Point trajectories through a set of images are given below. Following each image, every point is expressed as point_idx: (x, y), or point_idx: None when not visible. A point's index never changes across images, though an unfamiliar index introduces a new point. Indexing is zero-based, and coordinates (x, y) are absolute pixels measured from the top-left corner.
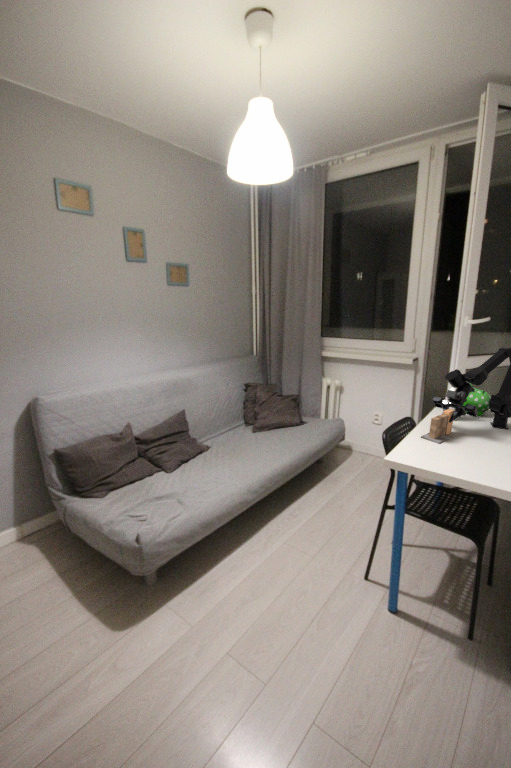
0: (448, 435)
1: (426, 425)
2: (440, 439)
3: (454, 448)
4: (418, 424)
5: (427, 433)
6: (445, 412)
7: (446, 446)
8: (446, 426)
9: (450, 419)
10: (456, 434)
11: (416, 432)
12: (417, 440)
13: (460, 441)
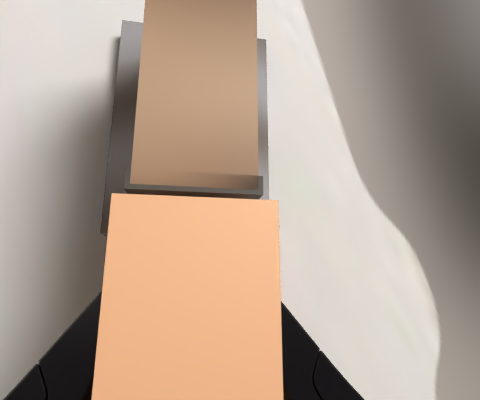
0: None
1: (392, 364)
2: (138, 79)
3: (6, 41)
4: (437, 323)
5: (266, 128)
6: (219, 204)
7: (68, 37)
8: None
9: None
10: None
11: (340, 136)
12: None
13: (16, 225)
